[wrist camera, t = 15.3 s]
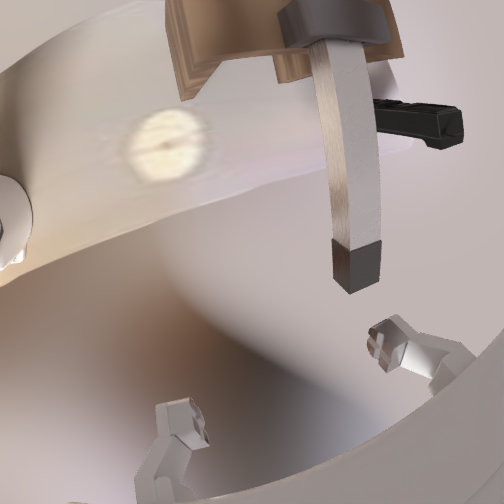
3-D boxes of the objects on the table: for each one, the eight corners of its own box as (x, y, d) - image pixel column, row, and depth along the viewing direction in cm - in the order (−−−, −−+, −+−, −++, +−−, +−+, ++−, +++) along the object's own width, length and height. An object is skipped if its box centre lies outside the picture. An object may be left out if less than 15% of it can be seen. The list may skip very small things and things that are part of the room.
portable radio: (367, 97, 43) (476, 102, 22) (373, 125, 46) (480, 144, 25) (336, 103, 43) (450, 105, 21) (344, 133, 46) (455, 154, 24)
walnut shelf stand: (181, 101, 36) (206, 38, 10) (165, 26, 29) (175, -104, 3) (289, 82, 39) (440, 54, 13) (273, 13, 32) (393, -69, 6)
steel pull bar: (333, 278, 24) (349, 294, 21) (290, -7, 12) (307, -21, 10) (361, 267, 24) (378, 281, 22) (327, -3, 13) (347, -14, 10)
